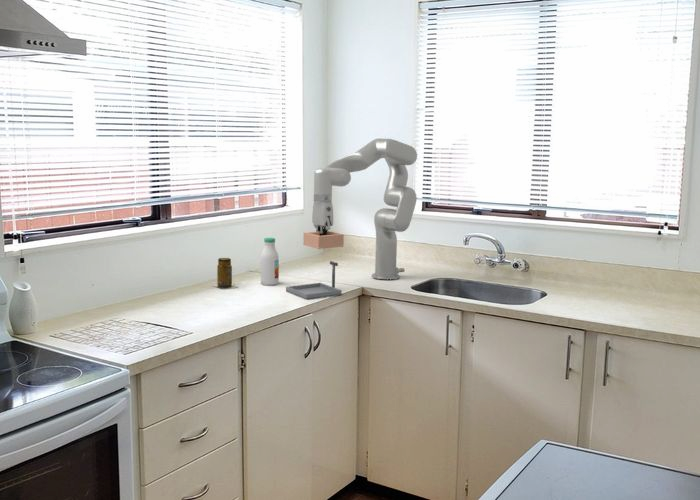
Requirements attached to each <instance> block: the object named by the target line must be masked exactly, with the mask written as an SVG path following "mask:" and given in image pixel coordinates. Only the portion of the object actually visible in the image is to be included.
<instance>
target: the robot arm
mask: <svg viewBox="0 0 700 500" xmlns="http://www.w3.org/2000/svg"><path fill="white" fill-rule="evenodd" d="M417 158H418V152H417V150H416V148H414V147H413V146H412V145H409V144H407V143H404V142H401V141H398V140H395V139H392V138H375V139H373V140H371V141H370V142H368V143H367V144H365V145H363V147H361V148H360V149H358V150H356V151H355V152H354V153H350V154H348V155H346V156H343V157H341V158H338V159H336V160H334V161H332V162H331V163H330V164H328V165H326V166H325V167H324V168H317V169H315V170H314V172H313V173H314V175H313V206H312V213H311V214H312V219H311V220H312V222H311V223H312V224H313V227H314V228H315V232H320V233H319V236H324V235H327V231H330V230H331V227H332V226H333V225H334V207H333V202H332V200H333V198H332V197H333V186H334V187H346V186H347V185H349V183H350V182H351V179H352V176H351V173H355V172H361V171H364V170H367V169H368V168H370V167H371V166H372V165H374V164H375V163H377V162H378V161H379V160H381V159H384V160H385V162H386V163H387V166H388V170H389V176H388V180H387V184H386V187H385V190H384V194H383V201H384V203H385V205H387V206H390V207H394V208H396V209H394V208H388V207H385V208H384V207H383V208H380V209H378V210H377V211H376V212H375V213H374V216H373V217H374V219H373V221H374V229H375V265H374V268H375V269H374V273H372V274H371V278H372V277H373V279H374V278H377V279H376V280H379V279H387V280H386V281H392V280H391V279H395V280H398V279H400V274H399V273H405V268H404V267H401V268H400V267H397V255H398V251H397V250H398V248H397V247H398V238H397V233H396V232H399V233H402V232H405V231H407V230H408V229H409V227H410V224H411V222H412V219H413V218H412V217H413V214H414V211H415V209H416V208H415V207H416V204H417V193H416V191H415V190H414V188H412V187H410V186H407V183H408V179H409V172H408V169H407V166H412V165H413V164H415V163H416V162H417ZM388 279H390V280H388Z"/></svg>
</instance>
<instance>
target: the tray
mask: <svg viewBox="0 0 700 500" xmlns="http://www.w3.org/2000/svg"><path fill="white" fill-rule="evenodd" d="M285 292H286V293H289V294H291V295H294V296H296V297H299V298H302V299H304V300H314V299H320V298H321V297H322V298H328V297H327V296H329V297H336V296H337V297H338V296H342V289H339V288H338V287H337V288H336V287H335V288H334V287H332V285H328V284H325V283H322V282H315V283H307V284H298V285H290V286H286V287H285Z"/></svg>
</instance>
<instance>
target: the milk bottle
mask: <svg viewBox="0 0 700 500" xmlns="http://www.w3.org/2000/svg"><path fill="white" fill-rule="evenodd" d="M263 242H264V247H263V249H262V253H261V254H260V255H261V256H260V284H261V285H263V286H276V285H278V284H279V281H280V280H279V279H280V278H279V275H280V272H279V271H280V269H279V268H280V265H279V264H280V263H279V253H278V251H277V249H276V247H275V244H276V238H275V237H265V238H264V240H263Z"/></svg>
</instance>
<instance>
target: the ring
mask: <svg viewBox="0 0 700 500" xmlns="http://www.w3.org/2000/svg"><path fill="white" fill-rule="evenodd" d="M319 233H320V232H316V231H311V232H310V231H309V232H303V238H302V239H303V241H302V242H303V246H308V247H310V248H314V249H318V250H320V249H321V250H322V249H333V248H343V247H344V242H345V241H344V240H345V239H344V238H345V237H344V236H345V235H344V234H343V233H337V232H334V231H331V230H328V231H327V235H324V236H319Z"/></svg>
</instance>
